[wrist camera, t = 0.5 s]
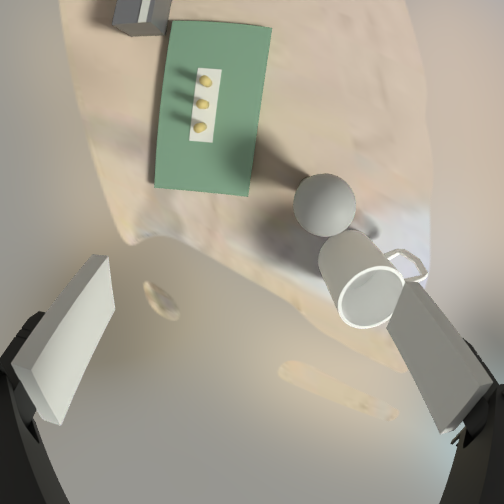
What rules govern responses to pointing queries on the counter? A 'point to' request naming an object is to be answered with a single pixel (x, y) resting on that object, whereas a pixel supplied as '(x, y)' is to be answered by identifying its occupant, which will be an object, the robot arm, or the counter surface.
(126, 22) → the block
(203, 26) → the board
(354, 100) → the counter surface
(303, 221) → the lightbulb
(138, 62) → the counter surface
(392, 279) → the cup
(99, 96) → the counter surface
